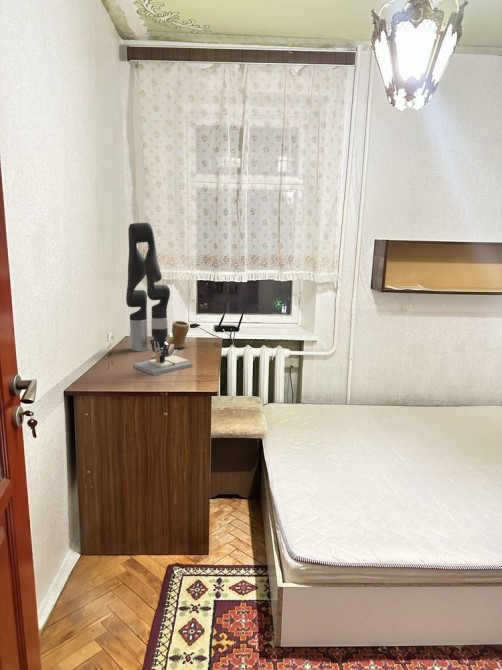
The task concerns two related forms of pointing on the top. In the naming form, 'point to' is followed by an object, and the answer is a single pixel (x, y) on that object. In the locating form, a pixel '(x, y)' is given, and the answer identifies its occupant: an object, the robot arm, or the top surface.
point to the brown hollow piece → (179, 334)
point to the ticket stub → (157, 361)
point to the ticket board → (154, 369)
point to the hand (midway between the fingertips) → (160, 361)
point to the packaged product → (170, 352)
